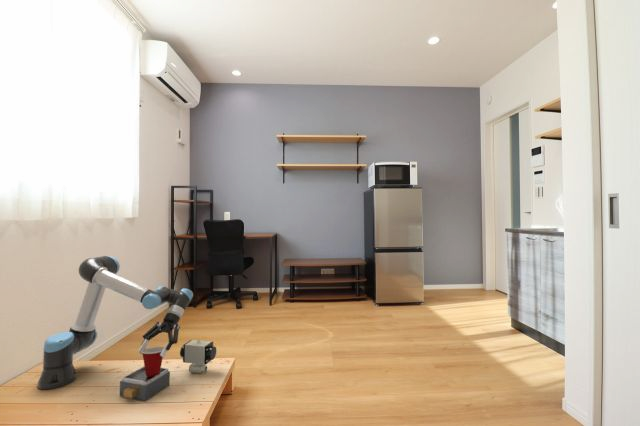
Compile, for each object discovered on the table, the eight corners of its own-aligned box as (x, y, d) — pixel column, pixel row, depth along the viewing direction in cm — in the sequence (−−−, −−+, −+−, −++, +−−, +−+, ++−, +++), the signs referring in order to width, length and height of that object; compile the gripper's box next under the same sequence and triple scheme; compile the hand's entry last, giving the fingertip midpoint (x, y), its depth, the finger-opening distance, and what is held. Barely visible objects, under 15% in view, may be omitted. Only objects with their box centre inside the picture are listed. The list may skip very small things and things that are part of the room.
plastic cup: (151, 379, 145) (151, 352, 147) (135, 378, 149) (135, 351, 151) (170, 371, 154) (170, 346, 157) (154, 370, 158) (155, 346, 161)
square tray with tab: (114, 399, 143) (115, 380, 144) (145, 381, 160) (146, 364, 160) (140, 404, 139) (141, 385, 140) (169, 385, 156) (170, 368, 156)
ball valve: (217, 370, 173) (218, 338, 174) (209, 377, 165) (210, 343, 166) (188, 367, 176) (189, 335, 177) (178, 374, 168) (179, 341, 169)
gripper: (196, 321, 167) (175, 361, 152) (158, 317, 174) (135, 354, 159) (189, 313, 162) (167, 354, 147) (151, 309, 169) (126, 348, 154)
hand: (150, 354), depth 153 cm, fingers open, 13 cm apart
